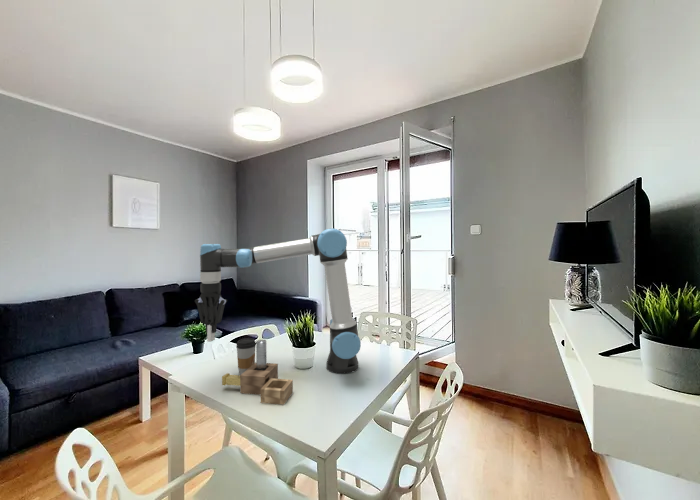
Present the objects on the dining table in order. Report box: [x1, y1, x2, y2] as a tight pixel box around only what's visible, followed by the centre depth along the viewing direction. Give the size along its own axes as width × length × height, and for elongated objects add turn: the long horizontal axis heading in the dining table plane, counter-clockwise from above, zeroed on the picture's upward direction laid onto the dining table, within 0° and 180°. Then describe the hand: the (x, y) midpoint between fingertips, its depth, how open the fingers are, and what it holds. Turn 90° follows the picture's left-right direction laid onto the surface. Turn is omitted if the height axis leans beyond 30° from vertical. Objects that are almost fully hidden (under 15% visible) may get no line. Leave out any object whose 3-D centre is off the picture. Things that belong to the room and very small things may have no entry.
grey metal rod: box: [255, 339, 268, 371], centre depth 121 cm, size 4×4×18 cm
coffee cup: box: [236, 337, 256, 375], centre depth 132 cm, size 8×8×15 cm
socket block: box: [239, 362, 279, 396], centre depth 120 cm, size 10×13×7 cm
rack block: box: [260, 378, 294, 405], centre depth 111 cm, size 9×9×5 cm
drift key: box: [221, 372, 240, 387], centre depth 117 cm, size 13×3×3 cm, turn 81°
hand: (211, 340), depth 119 cm, fingers closed
